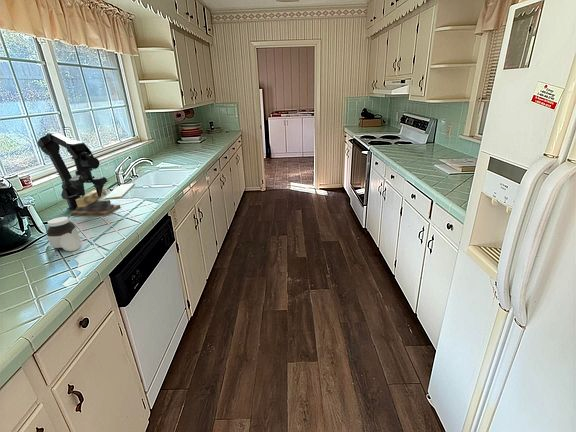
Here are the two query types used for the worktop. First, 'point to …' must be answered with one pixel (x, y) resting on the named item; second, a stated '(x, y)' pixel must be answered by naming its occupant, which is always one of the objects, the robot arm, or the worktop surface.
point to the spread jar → (63, 234)
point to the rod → (89, 198)
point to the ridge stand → (96, 208)
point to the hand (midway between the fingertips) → (91, 197)
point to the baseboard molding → (119, 191)
